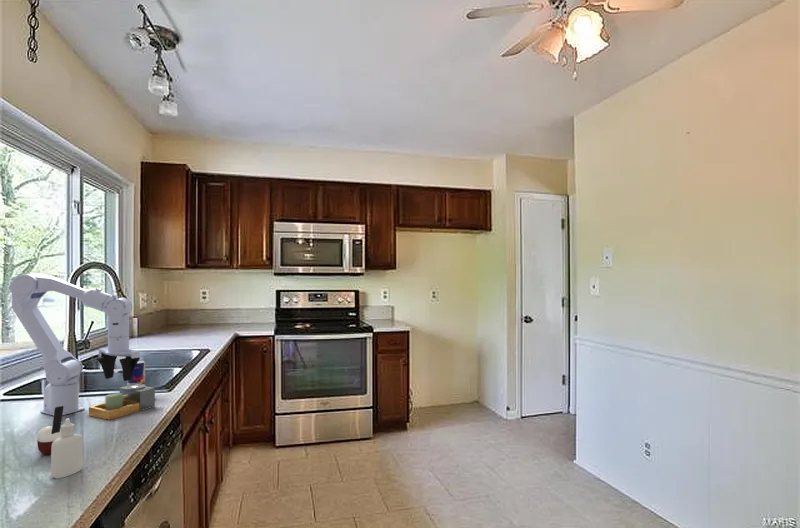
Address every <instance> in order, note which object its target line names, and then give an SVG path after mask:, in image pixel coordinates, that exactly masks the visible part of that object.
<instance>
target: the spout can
mask: <svg viewBox="0 0 800 528" xmlns="http://www.w3.org/2000/svg"><path fill="white" fill-rule="evenodd" d="M124 398H128V394H126V395H123V394H122V393H120V392H115V393H110V394H107V395H105V398H104V399H105V400H104V401H105V402H104V403H105V410H114V409H117V408H121V407H123V399H124Z"/></svg>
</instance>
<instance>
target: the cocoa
mask: <svg viewBox="0 0 800 528" xmlns="http://www.w3.org/2000/svg"><path fill="white" fill-rule="evenodd" d="M63 408H64V407H63V406H60V407H56V408H55V411H54V416H53V419H52V425H48V426H44V427H42V428H41V429H40V430H38V432H37V435H36V439H37V441H36V443H37V448H38V452H39V453H40V454H42V455H45V456H51V447H52V443H53V442H54V441H55V440H56V439H57V438H59V437H60V436H61V426H62V420H63V416H64V415H63Z"/></svg>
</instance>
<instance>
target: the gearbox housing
mask: <svg viewBox="0 0 800 528" xmlns="http://www.w3.org/2000/svg"><path fill="white" fill-rule="evenodd" d="M155 389H156V387H152V386H147V385H146V384H145V385H144V384H133V385H129V386H127V385H126V386H122V387H121V386H120V387H119V393H122V394H123V395H126V394H128V398H124V399H123V407H121V408H117V409H114V410H105V402H103V403H100V404H95V405H91V406H89V407H88V416H91V417H95V418H99V419H102V418H103V420H106V419H108V420H107V421H111V420H113V419H114V418H115V419H117V417H118V418H121V417H123V416H128V415H130V413H131V414H134V413H137V412H140V411H139V410H141V411H144V410H143V409H145V410H147V409H146V408H148V409H150V408H149V407H151V408H153V407H152V406H154V407H155V402H156V401H155V400H156V393H155V392H156V390H155ZM136 411H137V412H136ZM133 412H134V413H133ZM127 414H128V415H127ZM110 419H111V420H110ZM115 419H114V420H115Z"/></svg>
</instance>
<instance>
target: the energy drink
mask: <svg viewBox="0 0 800 528" xmlns="http://www.w3.org/2000/svg"><path fill="white" fill-rule="evenodd" d="M126 383H127V384H126V386H129V385H133V384H144V385H145V386H146V362H145V360H139V361H138V362H137V364H136V366H135V368H134V371H133V374H132V378H131V380H128V381H126Z"/></svg>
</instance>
